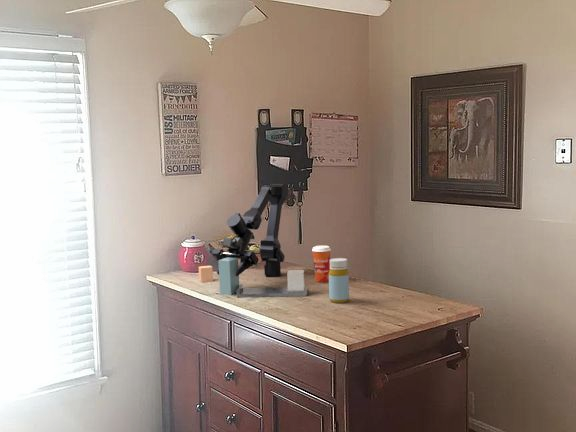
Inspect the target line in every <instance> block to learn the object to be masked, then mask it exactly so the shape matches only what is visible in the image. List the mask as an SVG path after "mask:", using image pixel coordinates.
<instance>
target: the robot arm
mask: <svg viewBox="0 0 576 432" xmlns="http://www.w3.org/2000/svg"><path fill="white" fill-rule="evenodd" d="M260 187H261V188H260V192H259V193H258V194H257V197H256V198H255V200H254V202H253V204H252V206H251V208H250V209H248V210H247V211H245V212H244V213H243V215H241V213H240V212H235V213H234V214H233V215H231V216H230V217H228V218H227V220H226V225H227V226H228V227H229V229H230V231H231V232H232V233H233V234H234V235H235V238H230V237H224V238H223V242H222V247H224V248H226V251H227V252H225V250H224V249H222V248H220V249H219V248H214V249H213V250H212V252H211V256H212V257H213V258H214V259H215V261H216V262H217V265H216V266H217V267H216V268H217V269H216V275H218V276H219V261H218V260H221V259H224V258H238V260H240V261H239V263H238V269H237V271H236V274H235V275H236V276H238V275H239V276H240V275H241V274H242V273H243V272H245V271H246V270H247V269H249V268H251V267H253V266H257V265H258V264H259V257H258V256H257V254H256V253H255V251H254V250H253V251H252V250H249V249H250V248H249V244H250V243H251V240H255V234H254V232H252V230H253V231H254V230H255V231H256V230H259V228H260V227H261V224H262V220H263V219H262V215H263V213H264V210H265V209H266V207H267V205H268V203H269V213H268V220H267V229H266V234H265V235H266V237H264V239H262V240H261V241H260V246H259V255H260V260H261V262H265V263H264V264H263V265H264V266H263V267H264V270H263V271H264V275H265V277H266V278H270V277H275V278H276V277H282V270H281V263H282V262H283V263H284V261H285V254H284V252H283V251H282V249H281V247H282V246H281V245H282V244H281V243H280V241H279V230H280V225H281V224H280V223H281V215H282V214H281V213H282V207H283V205H284V203H285V202H286V200H287V198H288V194H289V188H288V186H287V185H286V184H285V183H284V184H283V183H270V185H263V186H260Z"/></svg>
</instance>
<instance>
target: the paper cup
mask: <svg viewBox="0 0 576 432" xmlns="http://www.w3.org/2000/svg"><path fill="white" fill-rule="evenodd" d="M311 251H312V260H313V270H314V280H315V282H316V283H329V271H330V259H331V251H332V249H331V247H330V246H329V245H315V246H313V247H312V249H311Z"/></svg>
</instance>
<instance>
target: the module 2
mask: <svg viewBox="0 0 576 432" xmlns="http://www.w3.org/2000/svg"><path fill="white" fill-rule="evenodd" d="M218 261H219V275H218V277H219V281H218V282H219V294H220V295H231V296H232V295H234V294H237V291H236V290H237V289H238V287H239V285H240V275H238V276H236V275H235V274H236V271H237V269H238V266H239V259H238V258H224V259H221V260H218Z"/></svg>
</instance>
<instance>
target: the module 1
mask: <svg viewBox="0 0 576 432" xmlns="http://www.w3.org/2000/svg"><path fill="white" fill-rule="evenodd" d="M198 280H199V282H201V284H202V283H211V282H214V269H213V266H212V265H203V266H202V265H201V266H198Z"/></svg>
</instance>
